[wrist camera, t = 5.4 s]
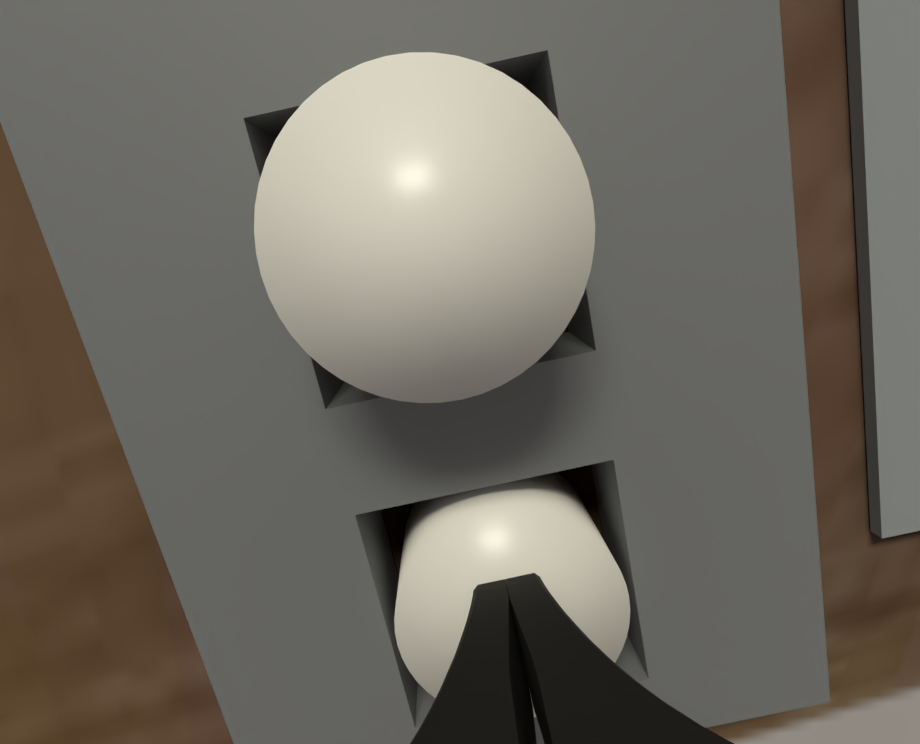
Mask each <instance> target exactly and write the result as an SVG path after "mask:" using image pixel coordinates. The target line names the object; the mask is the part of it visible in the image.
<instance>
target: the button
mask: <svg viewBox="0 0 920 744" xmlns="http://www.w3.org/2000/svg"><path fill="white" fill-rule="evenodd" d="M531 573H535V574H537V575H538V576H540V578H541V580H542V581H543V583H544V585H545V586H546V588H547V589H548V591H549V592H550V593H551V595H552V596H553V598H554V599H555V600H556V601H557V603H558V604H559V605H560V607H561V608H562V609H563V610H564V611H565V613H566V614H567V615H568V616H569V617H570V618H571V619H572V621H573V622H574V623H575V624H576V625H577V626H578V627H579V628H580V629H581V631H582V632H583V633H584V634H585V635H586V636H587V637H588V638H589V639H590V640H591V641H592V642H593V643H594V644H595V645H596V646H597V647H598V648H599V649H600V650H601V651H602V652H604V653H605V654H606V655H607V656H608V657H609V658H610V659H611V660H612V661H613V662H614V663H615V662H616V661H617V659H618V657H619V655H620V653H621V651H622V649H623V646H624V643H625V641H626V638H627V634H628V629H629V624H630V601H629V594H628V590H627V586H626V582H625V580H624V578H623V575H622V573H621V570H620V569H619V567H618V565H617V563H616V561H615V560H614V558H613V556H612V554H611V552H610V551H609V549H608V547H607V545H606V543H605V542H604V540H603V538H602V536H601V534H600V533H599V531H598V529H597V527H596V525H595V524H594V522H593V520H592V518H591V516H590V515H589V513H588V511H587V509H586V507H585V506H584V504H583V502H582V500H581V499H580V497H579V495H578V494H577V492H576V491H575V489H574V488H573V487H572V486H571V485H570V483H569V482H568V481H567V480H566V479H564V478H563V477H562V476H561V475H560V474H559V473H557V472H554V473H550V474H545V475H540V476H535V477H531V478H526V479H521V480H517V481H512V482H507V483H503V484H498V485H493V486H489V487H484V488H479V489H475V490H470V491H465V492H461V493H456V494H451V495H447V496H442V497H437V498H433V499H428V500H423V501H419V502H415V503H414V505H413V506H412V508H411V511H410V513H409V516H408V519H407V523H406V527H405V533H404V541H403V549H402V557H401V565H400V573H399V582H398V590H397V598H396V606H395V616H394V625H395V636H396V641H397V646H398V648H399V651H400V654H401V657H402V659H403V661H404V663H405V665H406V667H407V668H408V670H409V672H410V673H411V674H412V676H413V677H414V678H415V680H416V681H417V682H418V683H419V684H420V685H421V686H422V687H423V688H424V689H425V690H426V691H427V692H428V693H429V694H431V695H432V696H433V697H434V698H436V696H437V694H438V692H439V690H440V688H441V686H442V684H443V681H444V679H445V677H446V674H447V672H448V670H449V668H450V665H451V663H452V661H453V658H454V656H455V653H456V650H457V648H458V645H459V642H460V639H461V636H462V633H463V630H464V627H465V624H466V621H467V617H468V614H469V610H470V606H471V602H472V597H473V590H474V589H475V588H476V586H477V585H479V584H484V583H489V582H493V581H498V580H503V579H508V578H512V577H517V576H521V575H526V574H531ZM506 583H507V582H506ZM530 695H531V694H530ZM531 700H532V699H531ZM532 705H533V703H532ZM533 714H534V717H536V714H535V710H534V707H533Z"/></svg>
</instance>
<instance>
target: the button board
mask: <svg viewBox="0 0 920 744" xmlns="http://www.w3.org/2000/svg"><path fill="white" fill-rule="evenodd" d="M409 52H435V53H442V54H449V55H456V56H460V57H464V58H467V59H470V60H474V61H477V62H481V63H483V64H485V65H487V66H489V67H492V68H494V69H496V70H498V71H501V72H503V73H504V74H506V75H507V76H509V77H510V78H512V79H514V80H515V81H517V82H518V83H520V84H522V85H523V86H524V87H525V88H527V89H528V90H529V91H530V92H531V93H532V94H534V95H535V96H536V97H537V98H538V99H540V100H541V101H542V103H543V104H544V105H545V106H546V107H547V108H548V109H549V110H550V111H551V112H552V114H553V115H554V116H555V117H556V118H557V119H558V121H559V122H560V124H561V125H562V127H563V128H564V130H565V131H566V133H567V134H568V135H569V137H570V139H571V141H572V143H573V145H574V147H575V148H576V150H577V152H578V154H579V156H580V158H581V161H582V164H583V167H584V169H585V172H586V175H587V178H588V181H589V186H590V190H591V195H592V199H593V205H594V217H595V247H594V254H593V260H592V266H591V271H590V275H589V278H588V281H587V285H586V288H585V292H584V294H583V296H582V298H581V301H580V303H579V305H578V308H577V310H576V312H575V314H574V315H573V317H572V319H571V320H570V322H569V324H568V325H567V328H568V332H565V333H562V334H561V336H560V337H559V338H558V339H557V341H556V342H555V343H554V344H553V346H552V347H551V348H550V349H549V350H548V351H547V352H546V353H545V354H544V355H543V356H542V357H541V358H540V359H539V360H538V361H537V362H536V363H535V364H533V365H532V366H531V367H529V368H528V369H527V370H525V371H524V372H523V373H522V374H520V375H519V376H517V377H515V378H514V379H512V380H510V381H508V382H507V383H505V384H503V385H502V386H499V387H497V388H495V389H492V390H490V391H488V392H485V393H483V394H480V395H476V396H473V397H469V398H466V399H462V400H456V401H449V402H443V403H414V402H404V401H397V400H393V399H389V398H384V397H380V396H377V395H374V394H372V393H369V392H366V391H363V390H361V389H358V388H356V387H355V386H353V385H351V384H349V383H347V382H345V381H343V380H341V379H339V378H338V377H336V376H335V375H334V374H332V373H331V372H329V371H328V370H326V369H325V368H323V367H322V366H321V365H320V364H319V363H317V362H316V361H315V360H314V359H313V358H312V357H311V356H310V355H308V354H307V353H306V352H305V351H304V349H303V348H302V347H301V346H300V345H299V344H298V343H297V341H296V340H295V339H294V338H293V337H292V336H291V334H290V333H289V331H288V330H287V328H286V327H285V325H284V324H283V322H282V321H281V320H280V318H279V316H278V314H277V312H276V310H275V309H274V307H273V305H272V303H271V301H270V299H269V297H268V294H267V291H266V288H265V285H264V283H263V280H262V277H261V273H260V269H259V265H258V260H257V256H256V248H255V237H254V212H255V202H256V196H257V190H258V184H259V181H260V178H261V174H262V171H263V168H264V164H265V161H266V159H267V157H268V155H269V153H270V150H271V148H272V146H273V144H274V142H275V140H276V138H277V137H278V135H279V133H280V132H281V130H282V129H283V127H284V126H285V124H286V122H287V121H288V119H289V118H290V117H291V116H292V115H293V114H294V112H295V111H296V110H297V109H298V108H299V107H300V105H301V104H302V103H303V102H304V101H305V100H306V99H307V98H308V97H310V96H311V95H312V94H313V93H314V92H315V91H316V90H317V89H319V88H320V87H321V86H322V85H324V84H325V83H327V82H328V81H330V80H331V79H333V78H334V77H336V76H337V75H339V74H340V73H342V72H344V71H347V70H349V69H351V68H353V67H355V66H357V65H359V64H362V63H364V62H367V61H371V60H374V59H377V58H381V57H384V56H389V55H395V54H402V53H409ZM0 122H1V125H2V128H3V130H4V133H5V136H6V138H7V141H8V144H9V146H10V149H11V152H12V154H13V157H14V160H15V162H16V165H17V168H18V170H19V173H20V175H21V178H22V181H23V183H24V186H25V189H26V191H27V194H28V197H29V199H30V202H31V205H32V207H33V210H34V213H35V215H36V218H37V221H38V223H39V226H40V229H41V231H42V234H43V237H44V239H45V242H46V245H47V247H48V250H49V253H50V255H51V258H52V261H53V263H54V266H55V269H56V271H57V274H58V277H59V279H60V282H61V285H62V287H63V290H64V293H65V295H66V298H67V301H68V303H69V306H70V309H71V311H72V314H73V317H74V319H75V322H76V325H77V327H78V330H79V333H80V335H81V338H82V341H83V343H84V346H85V349H86V351H87V354H88V357H89V359H90V362H91V365H92V367H93V370H94V373H95V375H96V378H97V381H98V383H99V386H100V389H101V391H102V394H103V397H104V399H105V402H106V405H107V407H108V410H109V413H110V415H111V418H112V421H113V423H114V426H115V429H116V431H117V434H118V437H119V439H120V442H121V445H122V447H123V450H124V453H125V455H126V458H127V461H128V463H129V466H130V469H131V471H132V474H133V476H134V479H135V482H136V484H137V487H138V490H139V492H140V495H141V498H142V500H143V503H144V506H145V508H146V511H147V514H148V516H149V519H150V522H151V524H152V527H153V530H154V532H155V535H156V538H157V540H158V543H159V546H160V548H161V551H162V554H163V556H164V559H165V562H166V564H167V567H168V570H169V572H170V575H171V578H172V580H173V583H174V586H175V588H176V591H177V594H178V596H179V599H180V602H181V604H182V607H183V610H184V612H185V615H186V618H187V620H188V623H189V626H190V628H191V631H192V634H193V636H194V639H195V642H196V644H197V647H198V650H199V652H200V655H201V658H202V660H203V663H204V666H205V668H206V671H207V674H208V676H209V679H210V682H211V684H212V687H213V690H214V692H215V695H216V698H217V700H218V703H219V706H220V708H221V711H222V714H223V716H224V719H225V722H226V724H227V727H228V730H229V732H230V735H231V738H232V740H233V743H234V744H410V743H411V741H412V740H413V738H414V736H415V735H416V733H417V732H418V730H419V728H420V726H421V725H422V723H423V721H424V719H425V717H426V716H427V714H428V712H429V710H430V708H431V706H432V704H433V702H434V701H435V698H434V697H433V696H432V695H431V694H429V693H428V692H427V691H426V690H425V689H424V688H423V687H422V686H421V685H420V684H419V683H418V682H417V681H416V680H415V678H414V677H413V676H412V674H411V673H410V672H409V670H408V668H407V667H406V665H405V663H404V661H403V659H402V657H401V654H400V651H399V648H398V646H397V641H396V636H395V625H394V616H395V606H396V598H397V590H398V582H399V576H398V572H397V569H396V565H395V561H394V557H393V554H392V550H391V546H390V543H389V539H388V535H387V531H386V528H385V524H384V520H383V517H382V513H381V509H386V508H391V507H395V506H400V505H405V504H409V503H414V502H419V501H423V500H428V499H433V498H437V497H442V496H447V495H451V494H456V493H461V492H465V491H470V490H475V489H479V488H484V487H489V486H493V485H498V484H503V483H507V482H512V481H517V480H521V479H526V478H531V477H535V476H540V475H545V474H550V473H554V472H559V471H564V470H568V469H573V468H578V467H582V466H587V465H591V468H592V474H593V480H594V486H595V492H596V497H597V503H598V509H599V515H600V521H601V527H602V532H603V538H604V542H605V543H606V545H607V547H608V549H609V551H610V552H611V554H612V556H613V558H614V560H615V561H616V563H617V565H618V567H619V569H620V570H621V573H622V575H623V578H624V580H625V582H626V586H627V590H628V594H629V601H630V624H629V629H628V634H627V638H626V641H625V643H624V646H623V649H622V651H621V653H620V655H619V657H618V659H617V661H616V662H615V664H617V665H618V666H619V667H620V668H621V669H622V670H624V671H625V672H626V673H627V674H628V675H630V676H631V677H632V678H633V679H635V680H636V681H637V682H638V683H640V684H641V685H642V686H644V687H645V688H646V689H648V690H649V691H650V692H652V693H653V694H654V695H656V696H657V697H658V698H660V699H661V700H663V701H664V702H665V703H667V704H669V705H670V706H672V707H673V708H675V709H676V710H678V711H679V712H681V713H683V714H684V715H686V716H687V717H689V718H690V719H692V720H693V721H695V722H697V723H698V724H700V725H701V726H703V727H704V728H707V727H712V726H717V725H722V724H726V723H731V722H736V721H741V720H746V719H751V718H755V717H760V716H765V715H770V714H775V713H780V712H784V711H789V710H794V709H799V708H804V707H809V706H813V705H818V704H823V703H828V702H830V691H829V677H828V663H827V650H826V636H825V622H824V609H823V595H822V581H821V567H820V554H819V540H818V526H817V513H816V499H815V485H814V471H813V458H812V444H811V430H810V417H809V403H808V389H807V376H806V362H805V348H804V334H803V321H802V307H801V293H800V280H799V266H798V252H797V238H796V225H795V211H794V197H793V184H792V170H791V156H790V142H789V129H788V115H787V101H786V88H785V74H784V60H783V46H782V33H781V19H780V5H779V0H0ZM534 723H535V732H536V742H537V744H544V740H543V737H542V734H541V730H540V727H539V724H538V720H537V717H534Z"/></svg>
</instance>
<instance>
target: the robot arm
mask: <svg viewBox="0 0 920 744" xmlns="http://www.w3.org/2000/svg"><path fill="white" fill-rule="evenodd" d="M506 582H507V583H506ZM530 694H531V695H530ZM531 699H532V700H531ZM532 703H533V705H532ZM533 707H534V710H535V714H536V717H537V720H538V724H539V727H540V730H541V734H542V737H543V740H544V744H734V743H732V742H730V741H728V740H726V739H724V738H722V737H721V736H719V735H717V734H715V733H713V732H712V731H710V730H708V729H706V728H704V727H703V726H701V725H700V724H698V723H697V722H695V721H693V720H692V719H690V718H689V717H687V716H686V715H684V714H683V713H681V712H679V711H678V710H676V709H675V708H673V707H672V706H670V705H669V704H667V703H665V702H664V701H663V700H661V699H660V698H658V697H657V696H656V695H654V694H653V693H652V692H650V691H649V690H648V689H646V688H645V687H644V686H642V685H641V684H640V683H638V682H637V681H636V680H635V679H633V678H632V677H631V676H630V675H628V674H627V673H626V672H625V671H624V670H622V669H621V668H620V667H619V666H618V665H617V664H615V663H614V662H613V661H612V660H611V659H610V658H609V657H608V656H607V655H606V654H605V653H604V652H602V651H601V650H600V649H599V648H598V647H597V646H596V645H595V644H594V643H593V642H592V641H591V640H590V639H589V638H588V637H587V636H586V635H585V634H584V633H583V632H582V631H581V629H580V628H579V627H578V626H577V625H576V624H575V623H574V622H573V621H572V619H571V618H570V617H569V616H568V615H567V614H566V613H565V611H564V610H563V609H562V608H561V607H560V605H559V604H558V603H557V601H556V600H555V599H554V598H553V596H552V595H551V593H550V592H549V591H548V589H547V588H546V586H545V585H544V583H543V581H542V580H541V578H540V576H538V575H537V574H535V573H531V574H526V575H521V576H517V577H512V578H508V579H503V580H498V581H493V582H489V583H484V584H479V585H477V586H476V588H475V589H474V590H473V597H472V602H471V606H470V610H469V614H468V617H467V621H466V624H465V627H464V630H463V633H462V636H461V639H460V642H459V645H458V648H457V650H456V653H455V656H454V658H453V661H452V663H451V665H450V668H449V670H448V672H447V674H446V677H445V679H444V681H443V684H442V686H441V688H440V690H439V692H438V694H437V696H436V698H435V701H434V702H433V704H432V706H431V708H430V710H429V712H428V714H427V716H426V717H425V719H424V721H423V723H422V725H421V726H420V728H419V730H418V732H417V733H416V735H415V736H414V738H413V740H412V741H411V743H410V744H537V742H536V732H535V723H534V714H533Z"/></svg>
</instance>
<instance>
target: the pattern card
mask: <svg viewBox="0 0 920 744" xmlns="http://www.w3.org/2000/svg"><path fill="white" fill-rule="evenodd" d="M845 21H846V41H847V62H848V82H849V103H850V123H851V143H852V164H853V184H854V205H855V225H856V246H857V266H858V286H859V307H860V327H861V348H862V368H863V389H864V409H865V429H866V450H867V470H868V491H869V511H870V531H871V532H873V533H874V534H876V535H877V536H879V537H880V538H882V539H883V538H887V537H892V536H897V535H902V534H906V533H911V532H916V531H920V0H845Z"/></svg>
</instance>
